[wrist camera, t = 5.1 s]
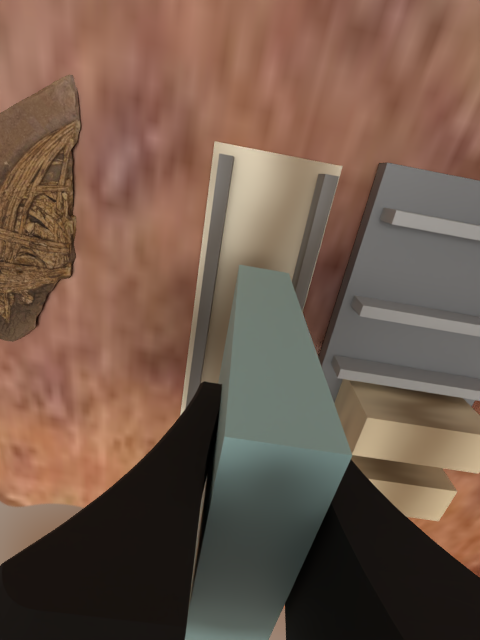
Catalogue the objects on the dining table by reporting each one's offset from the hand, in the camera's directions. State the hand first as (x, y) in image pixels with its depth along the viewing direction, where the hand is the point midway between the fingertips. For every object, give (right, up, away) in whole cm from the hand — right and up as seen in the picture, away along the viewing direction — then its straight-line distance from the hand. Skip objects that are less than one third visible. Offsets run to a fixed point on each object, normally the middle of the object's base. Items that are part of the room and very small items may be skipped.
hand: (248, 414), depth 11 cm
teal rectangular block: (0, +2, +4) cm, 5 cm away
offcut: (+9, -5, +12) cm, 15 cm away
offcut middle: (+9, -2, +10) cm, 14 cm away
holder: (0, +4, +9) cm, 10 cm away
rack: (+10, +1, +10) cm, 14 cm away
